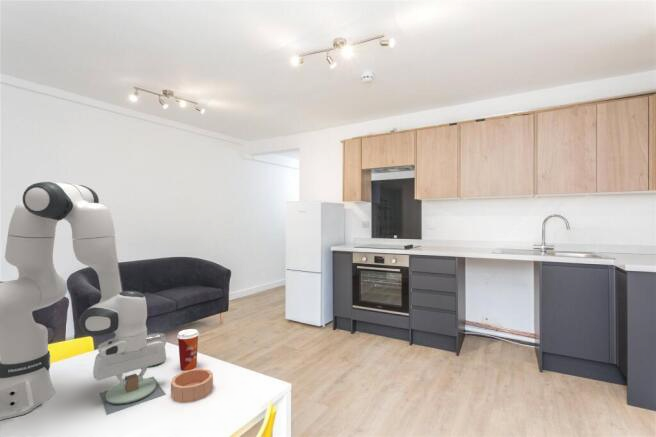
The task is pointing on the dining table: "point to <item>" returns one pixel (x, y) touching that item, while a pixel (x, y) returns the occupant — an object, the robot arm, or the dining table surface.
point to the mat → (117, 407)
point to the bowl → (191, 385)
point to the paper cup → (188, 348)
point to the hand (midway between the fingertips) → (131, 383)
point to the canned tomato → (153, 336)
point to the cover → (130, 390)
